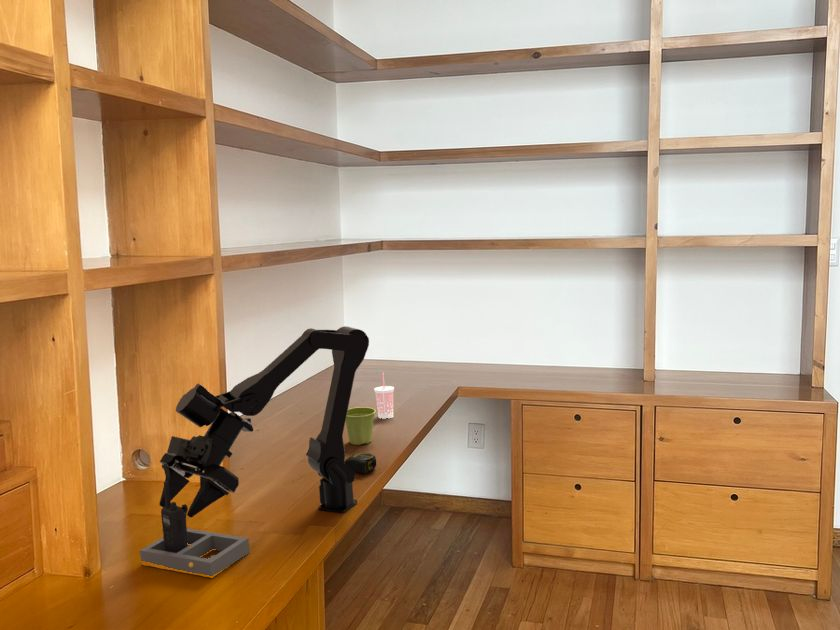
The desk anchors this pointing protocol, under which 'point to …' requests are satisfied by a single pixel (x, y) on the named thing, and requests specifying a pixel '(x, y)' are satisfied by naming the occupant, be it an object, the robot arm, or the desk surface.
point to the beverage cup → (384, 400)
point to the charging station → (198, 552)
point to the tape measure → (361, 462)
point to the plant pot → (360, 424)
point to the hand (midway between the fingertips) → (174, 511)
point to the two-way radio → (173, 524)
